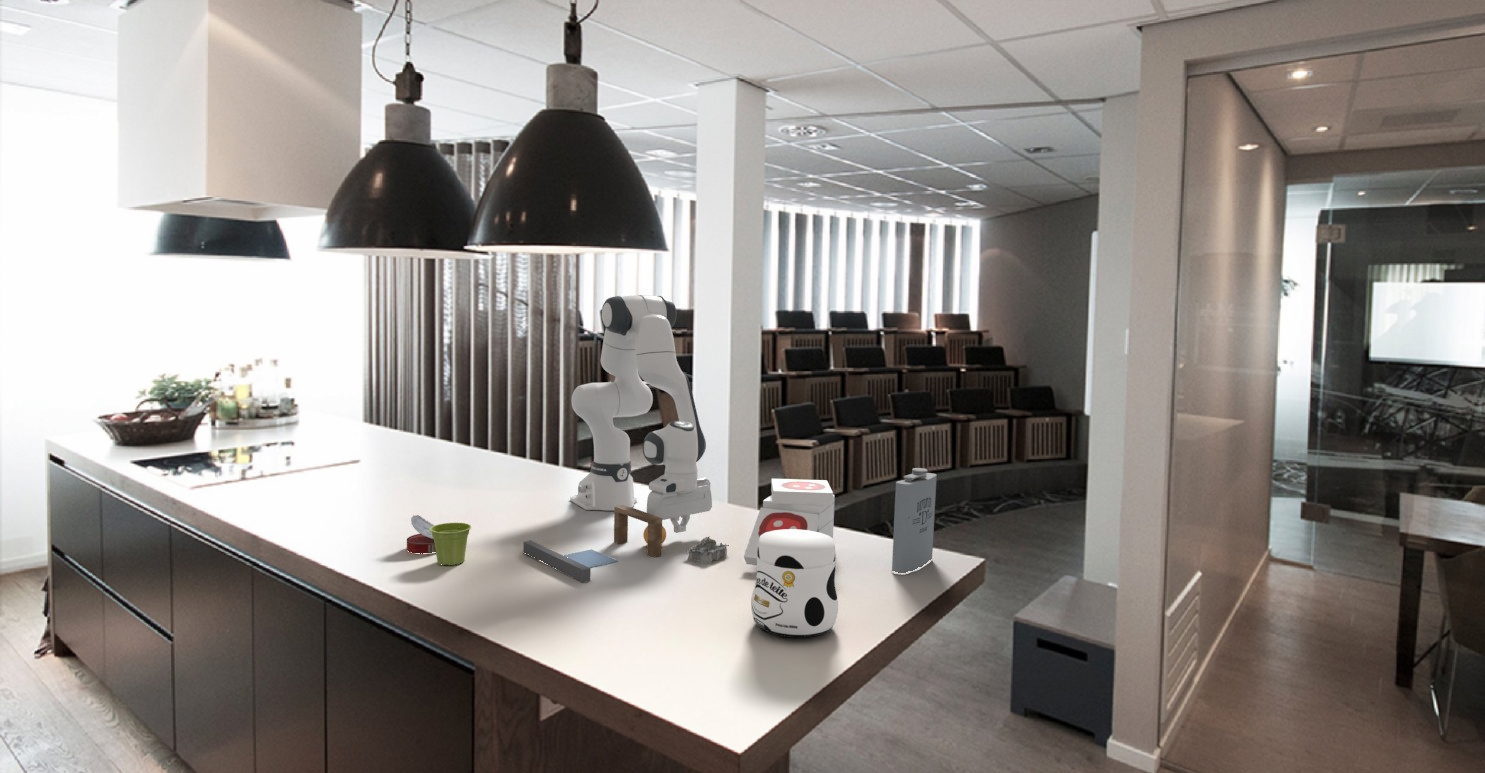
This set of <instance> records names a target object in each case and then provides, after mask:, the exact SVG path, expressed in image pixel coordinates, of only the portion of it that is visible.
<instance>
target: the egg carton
mask: <svg viewBox="0 0 1485 773" xmlns="http://www.w3.org/2000/svg"><path fill="white" fill-rule="evenodd" d="M710 537H711V536H709V535H708V536H706V537H704V538H702V539H701V540H700V542H697V544H695V545H692V546H691V547H690V548H688V549H686V550H685V551H686V552H687V553H688V554H687V555H688V557H687V559H688V561H699V563H700V564H711V563H712V562H713V561H712V560H716V561H718V560H720V557H727V556H728V554H727V553H728V549H727V547H729V546H730V544H728V545H727V543H725V544H723V543H722V542H720V543H719V544H717V541H716V540H715V539H712V538H710Z"/></svg>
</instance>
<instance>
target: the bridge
mask: <svg viewBox="0 0 1485 773" xmlns="http://www.w3.org/2000/svg"><path fill="white" fill-rule="evenodd" d="M613 511H614V512H613V523H614V524H613V527H614V528H613V542H614V543H616V544H624V543H628V540H629V538H628V536H629V533H628V532H629V530H628V529H629V528H628V527H629V517H630V518H633V519H636V520H637V521H642V522H645V523H647V526H648V544H646V546H647V552H646V554H647V555H646V556H647V557H649V558H655V557H661V556H662V554H663V552H662V550H663V549H662V547H663V543H662V526H663V520H662V518H661V517H658V516H655V515H652V514H649V513H647V511H643V510H640V509H636V508H634V507H629V506H626V505H620V506H614V510H613Z"/></svg>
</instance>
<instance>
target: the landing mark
mask: <svg viewBox="0 0 1485 773" xmlns="http://www.w3.org/2000/svg"><path fill="white" fill-rule="evenodd" d="M567 554H568V555H567ZM567 554H563V555H564V556H565V557H568V558H570V559H572V560H574V561H576V562H578V563H580V564H582V565H585V566H587V567H589V568H591V569H592V568H596V567H600V566H604V565H609V564H613V563H618V562H619V560H618V559H615V558H612V557H610V556H608V555H605V554H604V553H601V552H599V551H597V550H594V549H592V548H591V549H586V550H583V551H582V550H581V551H578V552H572V553H567Z"/></svg>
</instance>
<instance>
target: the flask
mask: <svg viewBox="0 0 1485 773" xmlns="http://www.w3.org/2000/svg"><path fill="white" fill-rule="evenodd" d="M911 471H912V472H911V473H910V474H907V475H903V478H904V479H902V480H898V481H895V494H894V496H895V498H894V519H893V539H892V560H891V561H892V562H891V572H892V571H895V572H898V573H906V572H908V571H913V570H915V569H917V568H918V567H922V566H923V565H924V564H926V563H927V562H928V561H929V560H931V559H932V560H933V549H934V548H933V546H934V533H935V531H934V528H935V527H934V526H935V511H936V510H935V507H936V495H937V494H936V493H937V491H936V490H937V475H938V474H936V473H934V472H933V473H931V472H928V469H927V468H923V467H922V468H921V467H915V468H914V467H913V468H912V470H911Z"/></svg>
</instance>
